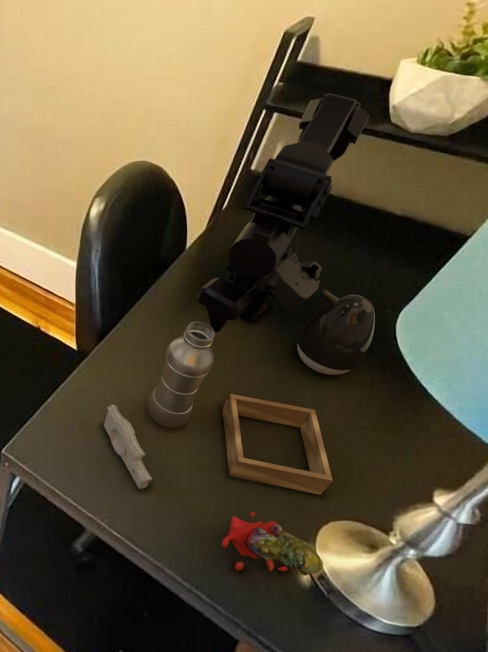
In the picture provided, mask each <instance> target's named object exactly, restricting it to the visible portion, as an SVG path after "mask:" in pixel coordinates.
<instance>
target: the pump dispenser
mask: <svg viewBox="0 0 488 652" xmlns="http://www.w3.org/2000/svg"><path fill="white" fill-rule="evenodd" d="M320 295H321V297H323V298H324V299H325V300H326V301H327V302H328V303H327V304H325V305H324V306H323V307H321V308H320V309H318V310H317V311H316V312H315V313H314V314H312V316H311V317H310V318H308V320H306V322H305V323H304V324H303V326H302V327H301V329H300V330H299V332H298V333H297V337H296V342H297V344H296V346H297V348H296V349H297V353H298V356H299V358H300V360H301V361H302V362H303V363H304V365H306V366H307V367H308V368H309V369H311V370H312V371H315V372H317V373H320V374H323V375H331V376H335V375H341V374H345V373H347V372H350V371H351V370H354V369H356V368H358V366H360V364H362V362H363V361H364V359H365V357H366V355H367V354H368V351H369V349H370V346H371V344H372V341H373V337H374V333H375V327H376V326H375V325H376V314H375V309H374V306H373V304H372V302H371V301H370V300H369V299H368V298H367V297H364V296H362V295H360V294H356V293H355V294H353V293H350V294H345V295H342V296H340V297H337V296H336V295H335V294H333V293H332V292H330V291H328V290H327V289H323V290H322V291H321V292H320Z"/></svg>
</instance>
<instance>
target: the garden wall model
mask: <svg viewBox="0 0 488 652" xmlns="http://www.w3.org/2000/svg"><path fill="white" fill-rule="evenodd" d="M106 409H107V414H106V417H105V420H104V424H103V427H104V429H105V431H106V433H107V434H108V436H109V438H110V441H111V445H112V447H113V449H114V451H115V453H116V454H117V455H118V456H120V458H121V459H122V461H123V463H124V465H125V467H126V468H127V470H128V472H129V474H130V475H131V477H132V479H133V480H134V482H135V484H136V486H137V488H138V489H139V490H141V489H146V488H147V486H148V485H149V483H150V481H152V480H153V477H152V476H151V475H150V473H149V472H148V470H147V468H146V466H145V464H144V462H143V461H142V459H143V457H145V456H146V453H145V451H144V450H143V448H142V447H141V446H140V443H139V441H138V440H137V437H136V435H135V434H136V432H135V431H136V430H135V429H134V427H133V425H132V423H131V422H130V421H128V419H126V418H125V417H124V416H123V414H122V413H121V411H119V408H118V407H117V404H113V403H112V404H110V405H108V406H107V407H106Z"/></svg>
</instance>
